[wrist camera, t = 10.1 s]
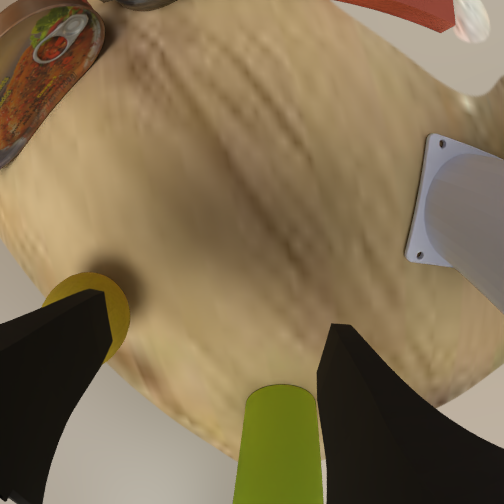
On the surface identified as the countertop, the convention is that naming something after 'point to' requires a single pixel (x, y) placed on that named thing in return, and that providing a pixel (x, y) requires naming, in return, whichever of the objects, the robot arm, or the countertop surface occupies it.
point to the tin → (41, 62)
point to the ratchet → (394, 3)
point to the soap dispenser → (279, 449)
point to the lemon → (114, 302)
